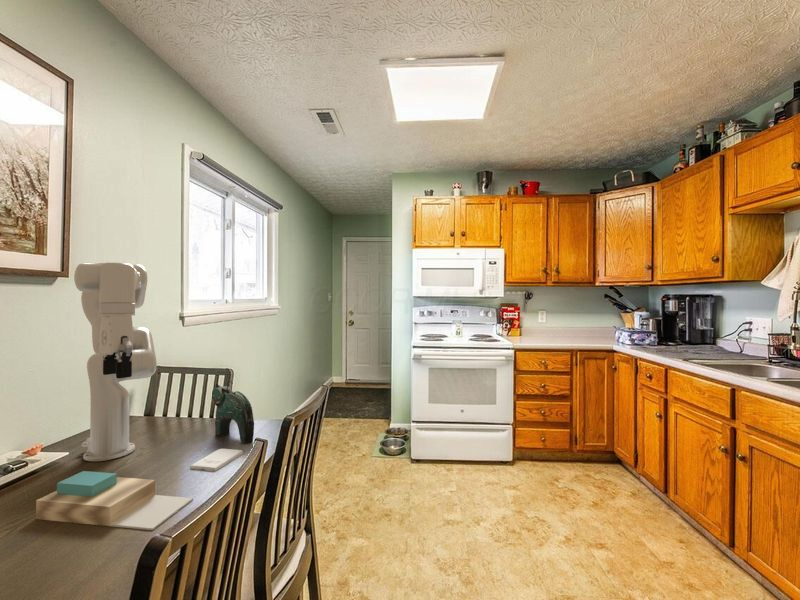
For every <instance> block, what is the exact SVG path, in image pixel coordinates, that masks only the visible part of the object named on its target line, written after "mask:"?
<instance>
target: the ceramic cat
mask: <svg viewBox="0 0 800 600" xmlns="http://www.w3.org/2000/svg"><path fill="white" fill-rule="evenodd" d="M229 382H230V384H231V385H233V384H234V383H233V381H232V379H227V381H226V383H227V384H226V385H224V386H220V384H219V383H216V384H215V388H213V390H212V391H211V392H212V393H211V403H212V404H213V405H214V406H215V407H216V410H215V419H214V429H215V430H214V435H215V434H216V435H215V436H217V435H219V436H218V437H223V436H222V435H224V436H226V435H225V434H227V435H229V434H230V427H231V426H230V425H231V422H232V421H234V422H235V423H236V425H237V428H238V434H239V440H240V444H241V445H244V446H246V445H249V444H252V443H253V441H254V434H255V433H254V432H255V419H254V413H253V412H254V411H253V407H252V405H251V402H250V401H249V399H248V398H247V396H246V395H245V394H243V393H242V392H241V391H237V390H236V391H233V390H232V388H231V387H230V386H229ZM228 433H229V434H228Z"/></svg>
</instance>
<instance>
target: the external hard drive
mask: <svg viewBox="0 0 800 600" xmlns="http://www.w3.org/2000/svg"><path fill="white" fill-rule="evenodd" d="M243 453H244V452H243V450H241V449H232V448H231V449H230V448H219V449H217V450H215V451H213V452H211V453H209V454H208V455H207V456H205V457H203V458H202V459H199V460H198V461H196V462H194V463H193V464H191V465H190V466H189V469H191V470H199V471H200V470H202V471H203V470H204V471H209V472H216V471H219V470H220V469H221V468H223V467H224V466H226V465H227V464H229V463H230V462H232V461H234V460H235V459H237V458H239V457H240V456H241V455H242V454H243Z"/></svg>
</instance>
